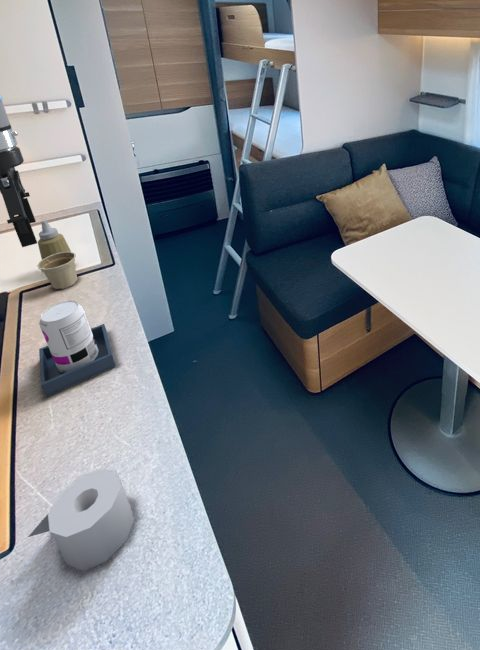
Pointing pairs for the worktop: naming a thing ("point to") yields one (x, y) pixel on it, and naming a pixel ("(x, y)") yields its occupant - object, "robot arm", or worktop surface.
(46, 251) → the squeeze bottle
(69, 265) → the flower pot
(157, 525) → the worktop surface
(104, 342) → the blue open tray
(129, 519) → the toilet tissue
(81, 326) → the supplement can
